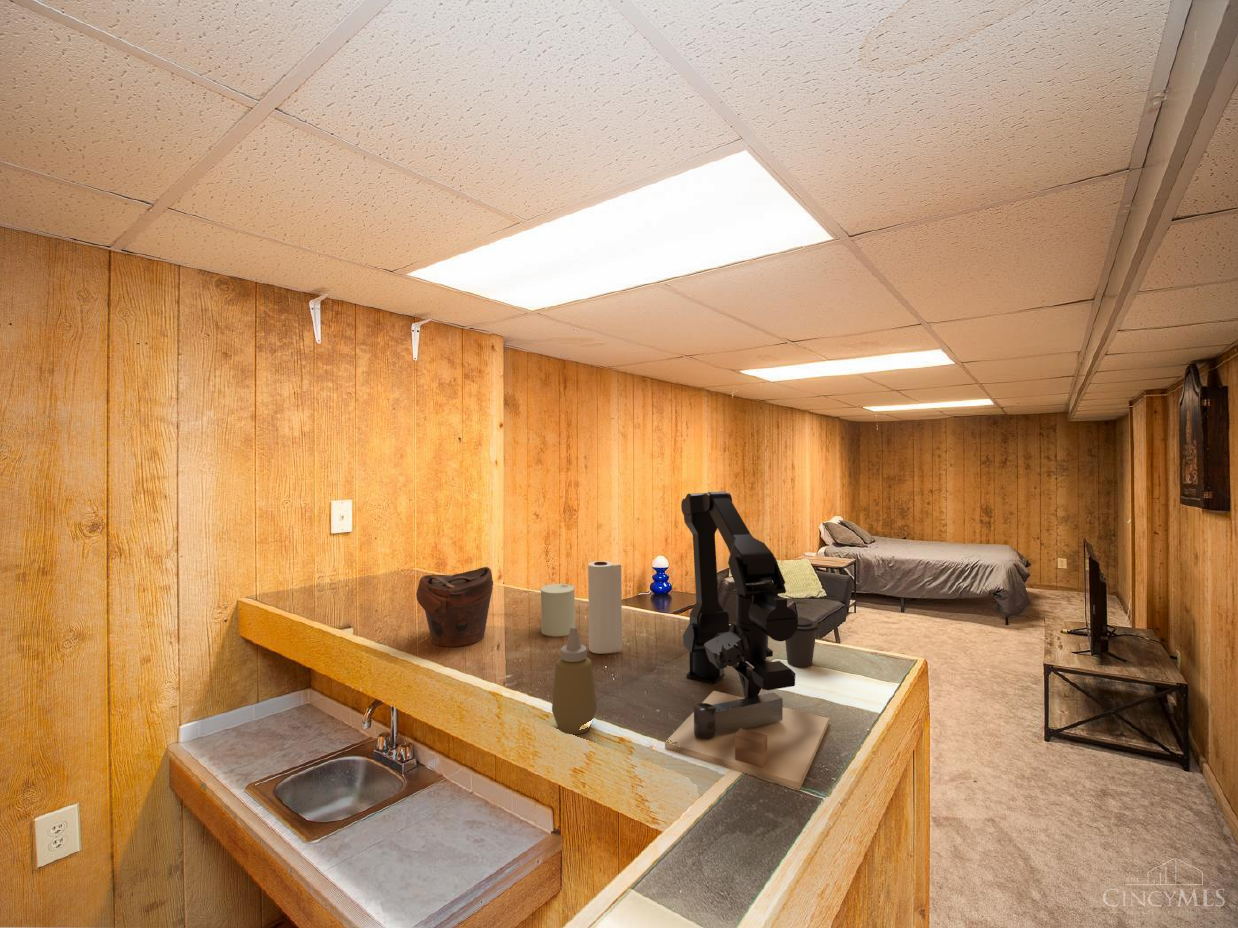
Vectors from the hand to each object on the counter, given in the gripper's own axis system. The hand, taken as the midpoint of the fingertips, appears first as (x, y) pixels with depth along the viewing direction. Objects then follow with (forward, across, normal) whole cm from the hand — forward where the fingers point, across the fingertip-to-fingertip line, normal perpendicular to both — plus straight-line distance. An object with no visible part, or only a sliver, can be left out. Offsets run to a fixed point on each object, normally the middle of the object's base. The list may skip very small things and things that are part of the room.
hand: (749, 704), depth 102 cm
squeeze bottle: (+4, -9, -30) cm, 32 cm away
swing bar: (+2, +3, -4) cm, 5 cm away
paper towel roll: (+5, -42, -15) cm, 45 cm away
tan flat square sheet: (+4, +4, -2) cm, 5 cm away
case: (+6, -62, -49) cm, 79 cm away
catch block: (+2, +12, -7) cm, 14 cm away
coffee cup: (+4, -20, +25) cm, 32 cm away
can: (+6, -59, -23) cm, 64 cm away
